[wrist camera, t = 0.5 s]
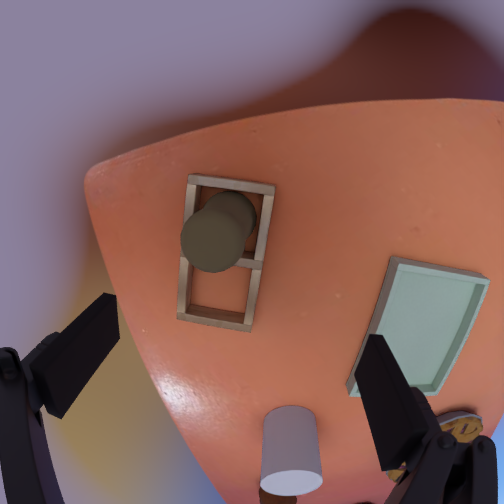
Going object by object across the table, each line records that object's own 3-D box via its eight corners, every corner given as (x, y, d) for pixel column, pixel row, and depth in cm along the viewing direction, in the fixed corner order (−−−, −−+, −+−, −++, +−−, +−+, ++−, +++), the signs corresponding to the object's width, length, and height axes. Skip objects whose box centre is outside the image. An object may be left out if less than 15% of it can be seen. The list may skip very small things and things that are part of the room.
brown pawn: (204, 246, 34) (176, 285, 23) (198, 193, 32) (164, 209, 22) (258, 243, 33) (252, 282, 23) (254, 188, 32) (245, 202, 21)
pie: (400, 417, 41) (408, 437, 36) (491, 393, 39) (502, 408, 34) (371, 478, 47) (375, 495, 42) (452, 457, 46) (459, 471, 41)
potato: (289, 471, 46) (289, 504, 39) (301, 493, 49) (302, 521, 42) (251, 476, 47) (249, 508, 40) (268, 497, 50) (267, 525, 43)
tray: (390, 255, 33) (399, 263, 30) (480, 273, 33) (490, 280, 30) (345, 384, 39) (348, 396, 36) (431, 385, 38) (436, 395, 36)
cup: (255, 430, 43) (251, 490, 31) (276, 400, 40) (275, 465, 29) (300, 440, 43) (304, 498, 32) (324, 412, 41) (334, 474, 29)
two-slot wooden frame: (194, 172, 32) (188, 174, 29) (275, 184, 31) (275, 186, 29) (182, 309, 37) (176, 319, 34) (252, 322, 36) (250, 332, 34)
